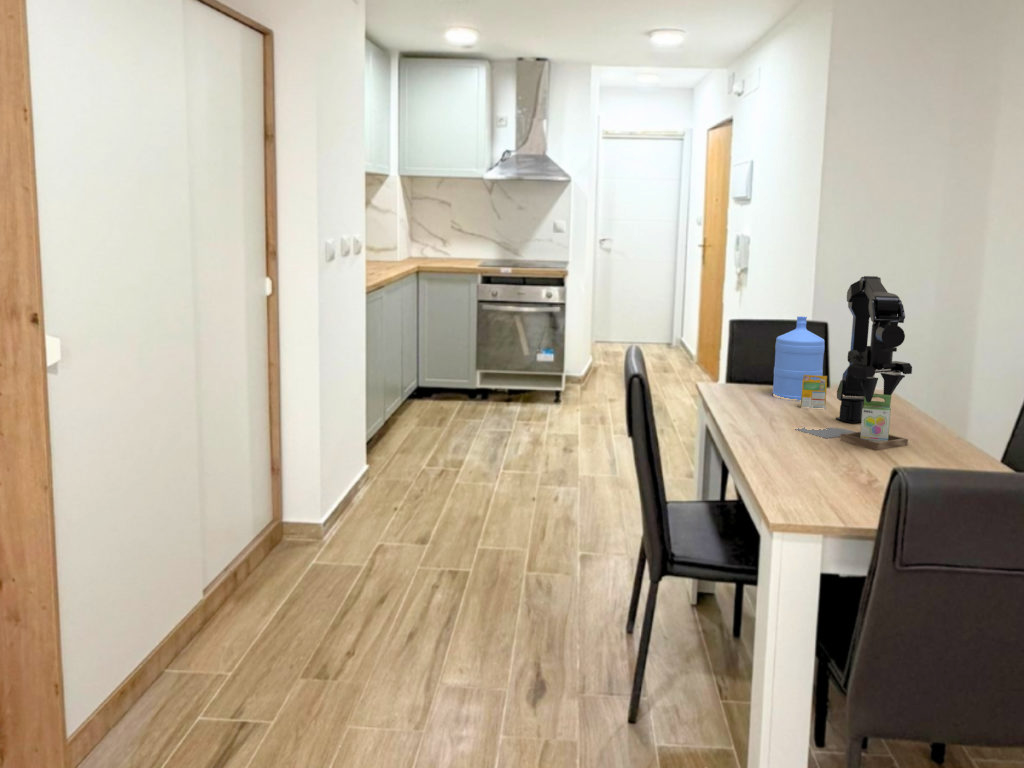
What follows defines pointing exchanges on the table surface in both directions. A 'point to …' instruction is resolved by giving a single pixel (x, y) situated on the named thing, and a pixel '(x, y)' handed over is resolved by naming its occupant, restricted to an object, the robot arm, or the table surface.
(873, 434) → the ink box
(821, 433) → the mat
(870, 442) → the holder
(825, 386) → the crayon box
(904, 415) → the table surface
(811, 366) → the water jug
